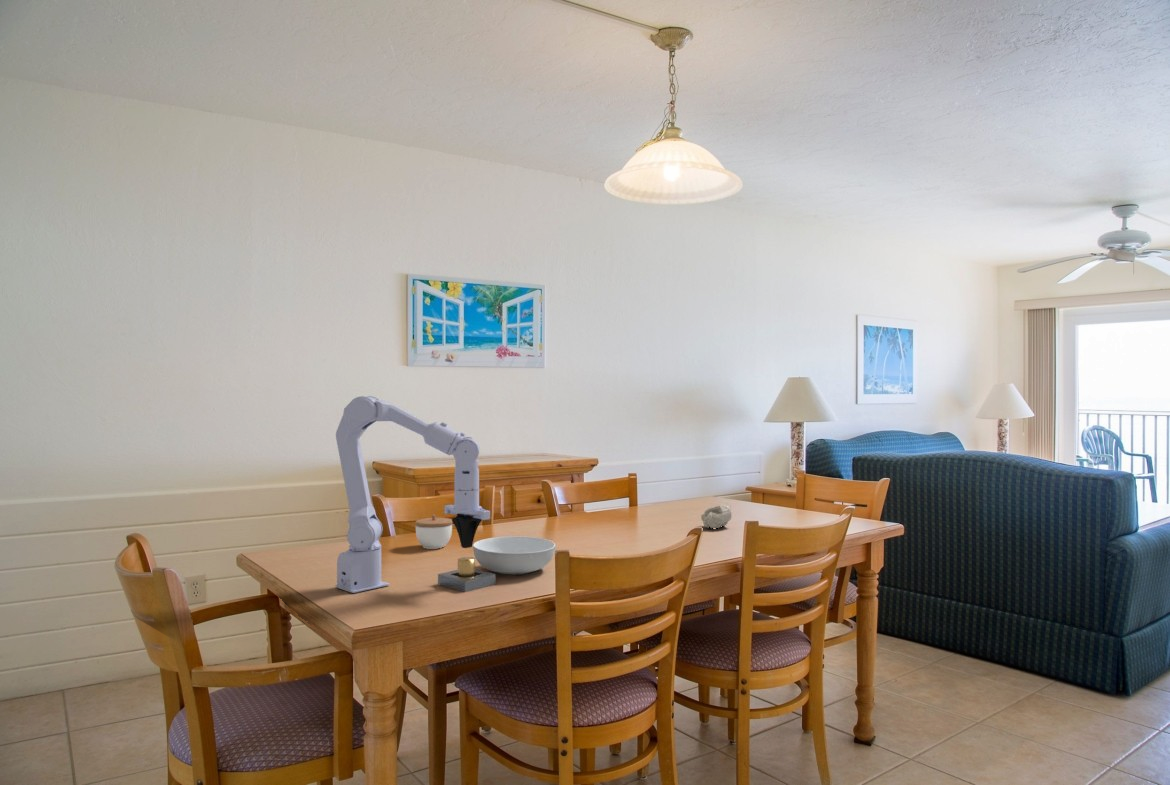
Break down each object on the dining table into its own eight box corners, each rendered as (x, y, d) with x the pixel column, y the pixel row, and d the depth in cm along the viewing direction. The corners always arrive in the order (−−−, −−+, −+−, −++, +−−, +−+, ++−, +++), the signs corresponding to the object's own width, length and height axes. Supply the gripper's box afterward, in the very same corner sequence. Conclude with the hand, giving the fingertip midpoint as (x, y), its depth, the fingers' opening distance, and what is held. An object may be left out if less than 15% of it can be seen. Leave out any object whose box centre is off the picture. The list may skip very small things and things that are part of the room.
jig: (465, 591, 169) (465, 581, 169) (438, 584, 176) (438, 574, 176) (495, 584, 176) (495, 574, 176) (468, 577, 182) (468, 567, 182)
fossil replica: (699, 531, 246) (730, 534, 244) (701, 506, 245) (732, 509, 244) (700, 521, 258) (730, 525, 256) (703, 498, 257) (732, 501, 255)
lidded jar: (448, 551, 213) (448, 518, 213) (410, 550, 213) (410, 517, 213) (456, 543, 224) (456, 512, 224) (420, 543, 224) (420, 512, 224)
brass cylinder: (464, 587, 173) (465, 561, 173) (454, 584, 175) (454, 559, 175) (478, 584, 176) (478, 558, 176) (467, 581, 178) (467, 556, 178)
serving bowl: (496, 585, 175) (496, 556, 175) (459, 568, 192) (459, 541, 192) (571, 573, 186) (571, 546, 186) (530, 558, 204) (530, 533, 204)
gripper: (500, 490, 174) (500, 548, 174) (460, 485, 183) (460, 540, 183) (476, 493, 168) (476, 553, 168) (437, 488, 178) (437, 545, 178)
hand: (466, 547), depth 176 cm, fingers closed
